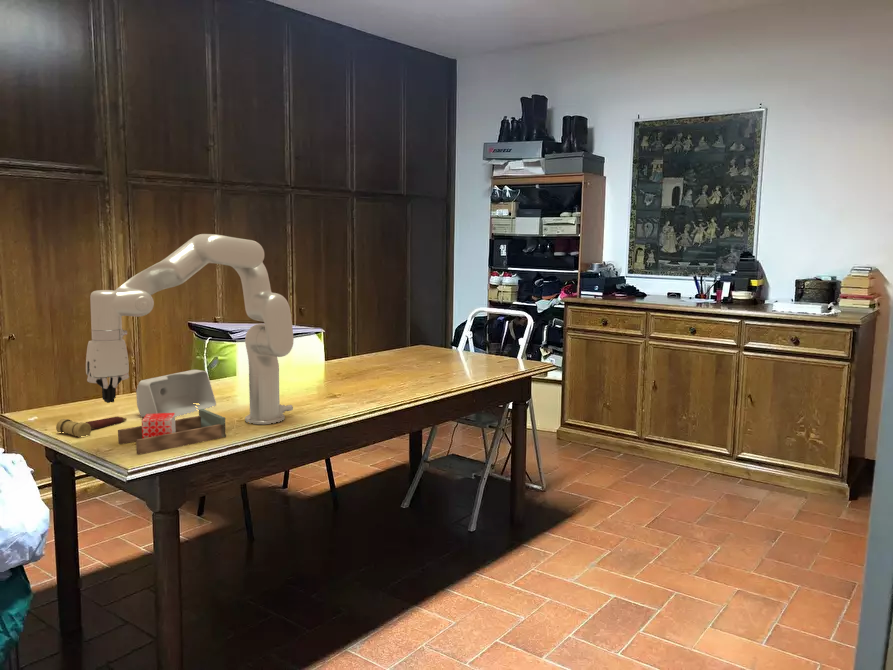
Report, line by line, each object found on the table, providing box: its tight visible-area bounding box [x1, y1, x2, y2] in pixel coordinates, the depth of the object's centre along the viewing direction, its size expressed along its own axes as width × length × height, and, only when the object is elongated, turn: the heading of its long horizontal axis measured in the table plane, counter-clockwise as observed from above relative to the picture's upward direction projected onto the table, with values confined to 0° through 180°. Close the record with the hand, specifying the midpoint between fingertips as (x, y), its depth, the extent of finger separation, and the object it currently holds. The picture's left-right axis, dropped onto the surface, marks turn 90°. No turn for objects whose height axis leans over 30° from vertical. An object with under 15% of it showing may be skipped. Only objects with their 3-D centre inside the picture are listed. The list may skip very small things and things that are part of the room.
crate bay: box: [117, 409, 227, 455], centre depth 212 cm, size 26×14×6 cm, turn 135°
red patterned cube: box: [141, 413, 176, 438], centre depth 209 cm, size 8×8×8 cm
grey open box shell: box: [135, 369, 217, 418], centre depth 247 cm, size 25×16×12 cm, turn 152°
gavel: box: [55, 416, 128, 438], centre depth 224 cm, size 21×5×10 cm
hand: (109, 401), depth 198 cm, fingers closed
